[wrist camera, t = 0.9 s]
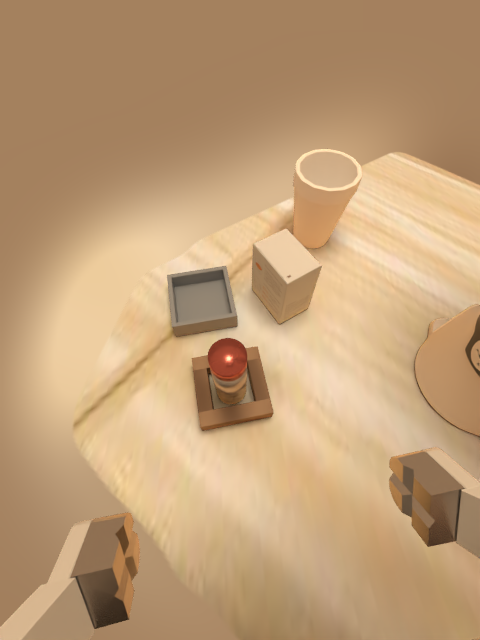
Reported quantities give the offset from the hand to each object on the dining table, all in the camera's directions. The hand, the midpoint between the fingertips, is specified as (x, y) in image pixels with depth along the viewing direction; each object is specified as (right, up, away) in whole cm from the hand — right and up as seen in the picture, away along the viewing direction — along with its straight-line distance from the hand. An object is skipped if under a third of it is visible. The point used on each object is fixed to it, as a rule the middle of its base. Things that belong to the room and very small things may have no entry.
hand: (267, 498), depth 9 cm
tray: (-7, +8, +38) cm, 40 cm away
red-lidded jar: (-2, -4, +32) cm, 32 cm away
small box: (+5, +9, +39) cm, 40 cm away
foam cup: (+12, +21, +46) cm, 51 cm away
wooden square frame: (-2, -4, +32) cm, 32 cm away
